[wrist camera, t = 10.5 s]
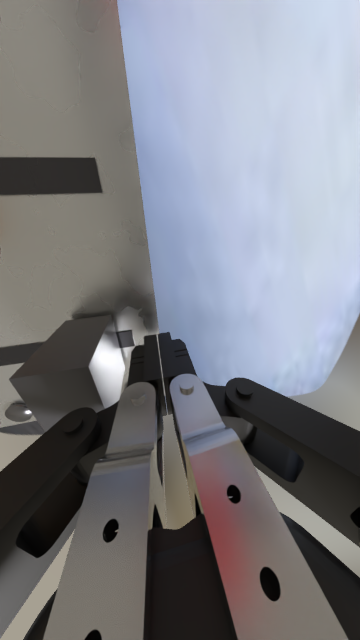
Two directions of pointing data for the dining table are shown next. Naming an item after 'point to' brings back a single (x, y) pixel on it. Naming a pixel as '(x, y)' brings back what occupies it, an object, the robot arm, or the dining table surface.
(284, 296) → the dining table surface
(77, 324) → the block
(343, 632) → the robot arm
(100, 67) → the console
